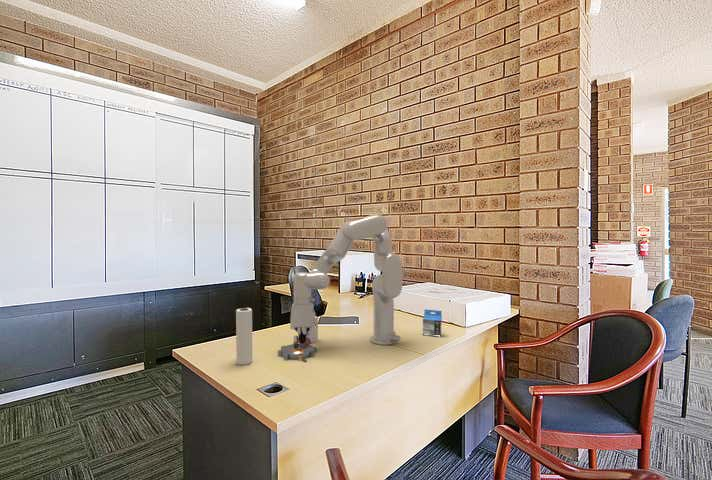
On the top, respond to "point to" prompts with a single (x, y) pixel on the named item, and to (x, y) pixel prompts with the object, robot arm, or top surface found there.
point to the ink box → (311, 333)
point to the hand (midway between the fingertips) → (302, 342)
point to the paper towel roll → (244, 336)
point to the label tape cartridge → (432, 322)
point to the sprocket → (297, 351)
